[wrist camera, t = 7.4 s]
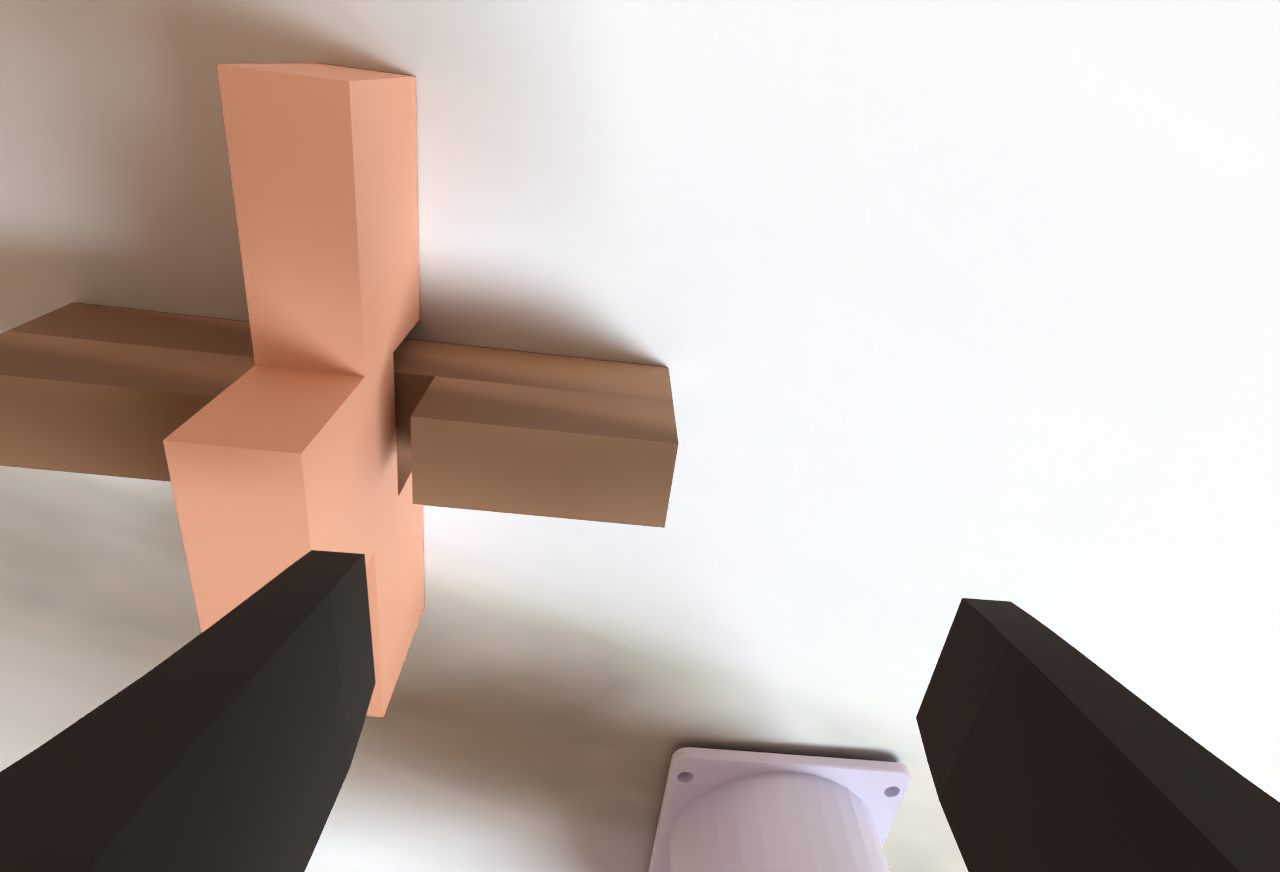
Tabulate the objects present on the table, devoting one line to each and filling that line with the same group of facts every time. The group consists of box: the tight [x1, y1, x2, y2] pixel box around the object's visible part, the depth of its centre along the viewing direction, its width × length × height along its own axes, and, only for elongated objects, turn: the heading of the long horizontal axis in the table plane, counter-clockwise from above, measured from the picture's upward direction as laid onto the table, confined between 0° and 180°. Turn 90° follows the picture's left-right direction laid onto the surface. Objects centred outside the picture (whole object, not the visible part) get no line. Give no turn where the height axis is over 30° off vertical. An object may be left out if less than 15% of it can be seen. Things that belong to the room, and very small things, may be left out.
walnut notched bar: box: [0, 303, 678, 527], centre depth 16 cm, size 2×14×4 cm, turn 83°
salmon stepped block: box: [163, 63, 425, 717], centre depth 15 cm, size 14×2×7 cm, turn 173°
